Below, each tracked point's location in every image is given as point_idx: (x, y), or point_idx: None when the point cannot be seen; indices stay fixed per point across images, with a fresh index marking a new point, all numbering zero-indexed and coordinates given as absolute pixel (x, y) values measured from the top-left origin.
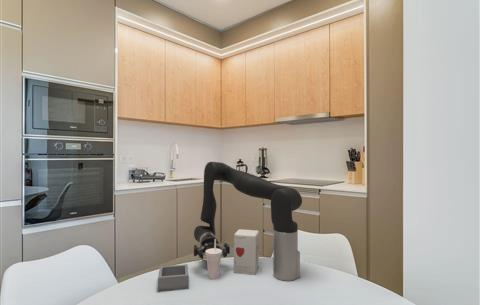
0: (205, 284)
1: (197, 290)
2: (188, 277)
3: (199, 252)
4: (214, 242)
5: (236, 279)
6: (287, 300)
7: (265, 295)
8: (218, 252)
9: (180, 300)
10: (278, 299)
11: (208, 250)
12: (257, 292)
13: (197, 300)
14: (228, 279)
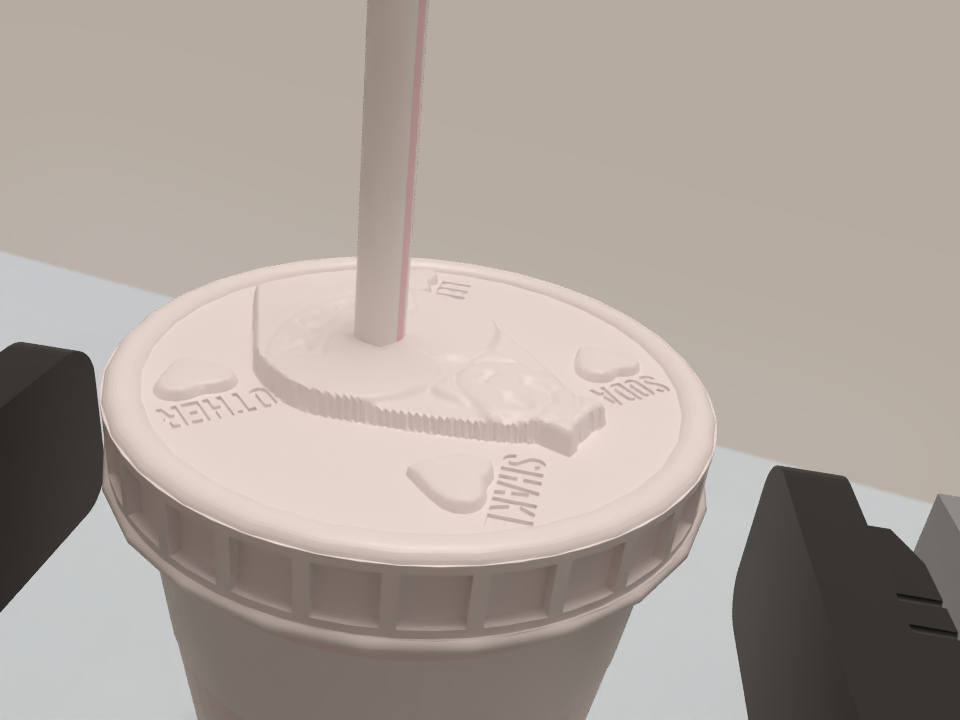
0: (603, 681)
1: (730, 584)
2: (929, 524)
3: (955, 663)
4: (424, 44)
5: (36, 636)
6: (8, 253)
7: (85, 320)
8: (334, 279)
9: (901, 496)
10: (52, 273)
11: (601, 402)
12: (101, 360)
13: (721, 447)
14: (157, 686)
